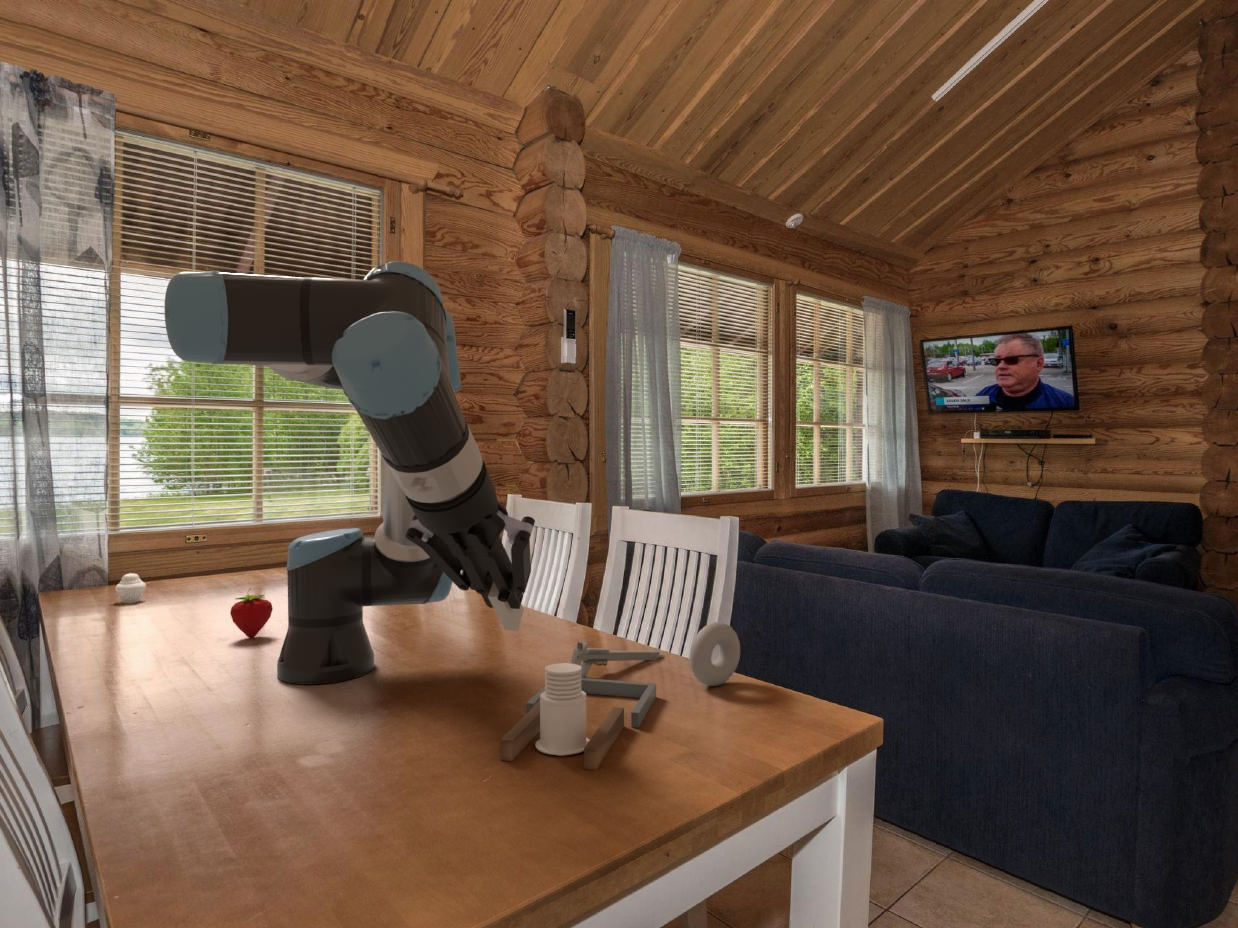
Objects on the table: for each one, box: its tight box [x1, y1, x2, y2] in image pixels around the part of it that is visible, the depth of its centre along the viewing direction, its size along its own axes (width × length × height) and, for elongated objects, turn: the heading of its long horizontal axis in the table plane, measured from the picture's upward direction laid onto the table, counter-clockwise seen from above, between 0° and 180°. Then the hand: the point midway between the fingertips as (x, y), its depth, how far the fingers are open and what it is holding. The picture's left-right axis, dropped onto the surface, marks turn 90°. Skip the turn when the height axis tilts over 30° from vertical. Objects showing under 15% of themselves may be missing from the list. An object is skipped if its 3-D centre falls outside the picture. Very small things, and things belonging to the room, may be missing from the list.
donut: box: [689, 621, 741, 687], centre depth 119 cm, size 10×4×10 cm, turn 129°
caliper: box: [570, 641, 665, 678], centre depth 128 cm, size 20×1×6 cm, turn 132°
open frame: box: [525, 677, 657, 729], centre depth 110 cm, size 16×12×2 cm
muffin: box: [114, 572, 147, 604], centre depth 180 cm, size 6×6×7 cm
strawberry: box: [230, 587, 273, 639], centre depth 148 cm, size 6×8×10 cm
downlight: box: [535, 662, 590, 757], centre depth 96 cm, size 8×7×10 cm
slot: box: [500, 701, 625, 771], centre depth 97 cm, size 12×14×2 cm
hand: (514, 619), depth 84 cm, fingers closed
